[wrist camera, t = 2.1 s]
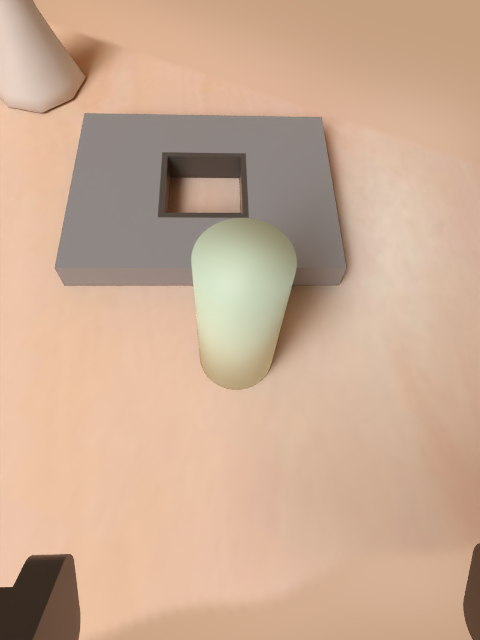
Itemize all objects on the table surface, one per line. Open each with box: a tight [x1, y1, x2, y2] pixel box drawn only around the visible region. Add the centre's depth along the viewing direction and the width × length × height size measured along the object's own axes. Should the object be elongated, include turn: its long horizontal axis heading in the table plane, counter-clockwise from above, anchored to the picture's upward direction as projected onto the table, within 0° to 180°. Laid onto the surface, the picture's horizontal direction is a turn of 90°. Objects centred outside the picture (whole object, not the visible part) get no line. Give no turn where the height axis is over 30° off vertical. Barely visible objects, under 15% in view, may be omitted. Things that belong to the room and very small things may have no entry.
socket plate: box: [55, 113, 346, 286], centre depth 32 cm, size 18×14×2 cm
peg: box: [191, 218, 297, 390], centre depth 23 cm, size 4×4×10 cm
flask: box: [0, 0, 85, 113], centre depth 34 cm, size 7×7×10 cm
